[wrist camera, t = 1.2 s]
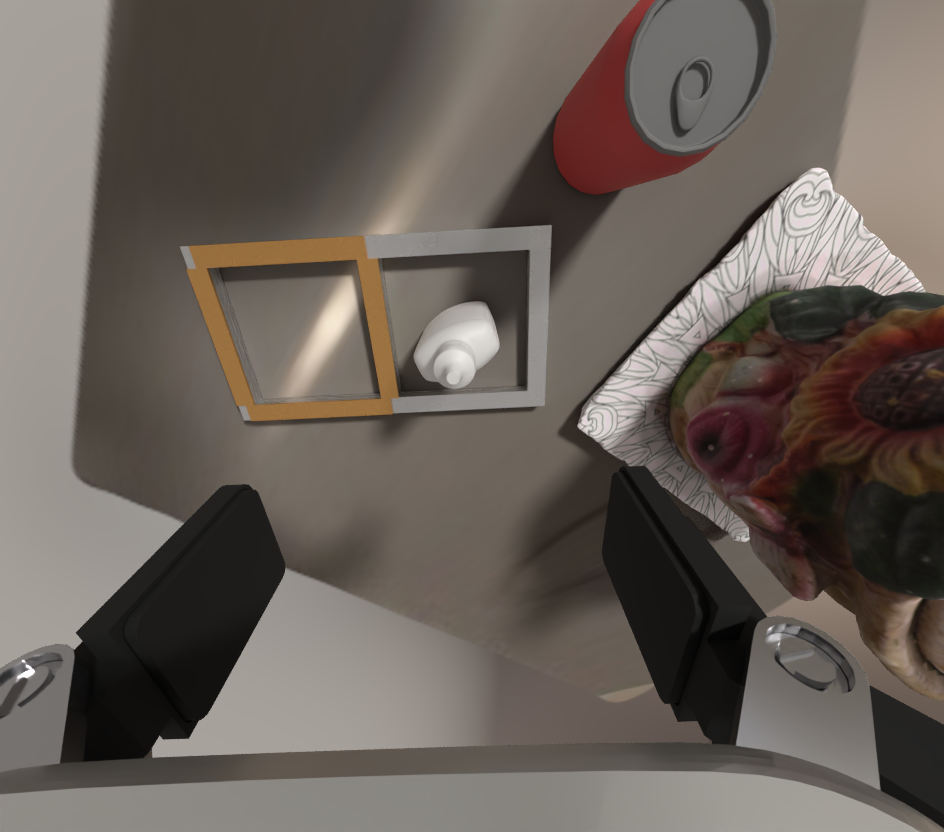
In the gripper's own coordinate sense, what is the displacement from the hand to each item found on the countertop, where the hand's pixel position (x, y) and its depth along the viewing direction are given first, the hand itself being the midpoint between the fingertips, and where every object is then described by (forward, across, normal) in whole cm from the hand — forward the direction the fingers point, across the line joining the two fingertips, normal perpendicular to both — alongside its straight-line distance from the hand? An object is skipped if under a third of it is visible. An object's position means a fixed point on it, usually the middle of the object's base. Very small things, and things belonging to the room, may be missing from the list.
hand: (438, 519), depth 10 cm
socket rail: (+23, +6, 0) cm, 24 cm away
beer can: (+23, -10, -12) cm, 28 cm away
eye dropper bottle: (+23, 0, 0) cm, 23 cm away
